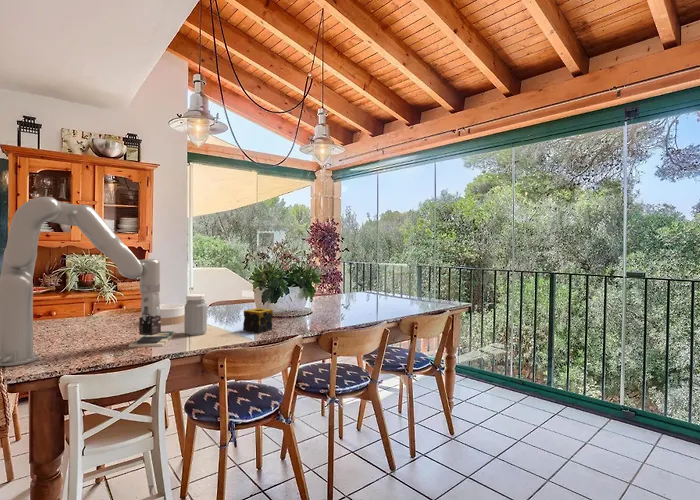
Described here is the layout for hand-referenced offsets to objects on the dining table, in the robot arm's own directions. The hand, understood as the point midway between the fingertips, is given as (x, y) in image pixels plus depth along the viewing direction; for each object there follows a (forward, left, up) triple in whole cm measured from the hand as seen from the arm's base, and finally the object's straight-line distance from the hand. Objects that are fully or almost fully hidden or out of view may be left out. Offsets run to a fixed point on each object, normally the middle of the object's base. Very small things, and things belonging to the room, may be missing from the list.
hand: (150, 330), depth 174 cm
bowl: (+45, +5, -6) cm, 46 cm away
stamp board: (+5, 0, -5) cm, 8 cm away
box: (0, 0, -2) cm, 2 cm away
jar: (+16, -15, -6) cm, 23 cm away
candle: (+20, -43, -6) cm, 48 cm away
